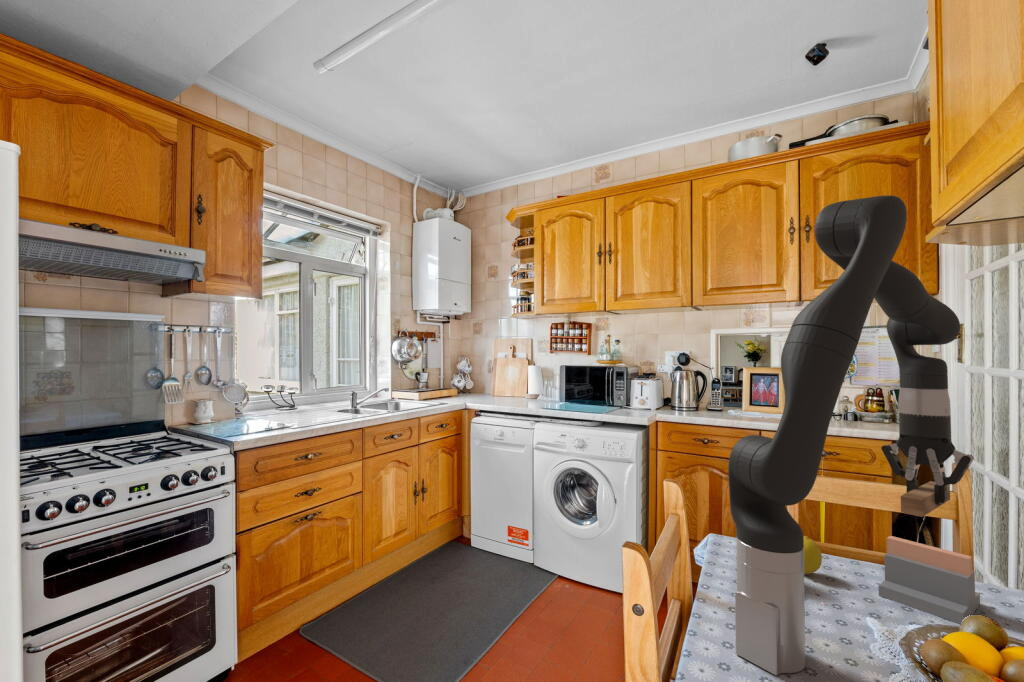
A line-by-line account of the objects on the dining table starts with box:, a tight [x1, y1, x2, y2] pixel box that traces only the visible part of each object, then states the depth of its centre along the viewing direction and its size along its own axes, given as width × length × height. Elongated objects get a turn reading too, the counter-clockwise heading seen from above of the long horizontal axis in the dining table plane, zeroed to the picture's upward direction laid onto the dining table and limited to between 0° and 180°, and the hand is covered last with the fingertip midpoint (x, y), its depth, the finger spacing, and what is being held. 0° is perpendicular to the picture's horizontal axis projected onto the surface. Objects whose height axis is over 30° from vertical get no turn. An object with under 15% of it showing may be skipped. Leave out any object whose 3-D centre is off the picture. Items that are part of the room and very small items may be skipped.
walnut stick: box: [900, 480, 951, 518], centre depth 89 cm, size 18×3×3 cm, turn 125°
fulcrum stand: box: [878, 535, 981, 625], centre depth 89 cm, size 12×12×10 cm
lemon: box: [803, 535, 823, 576], centre depth 99 cm, size 6×6×8 cm
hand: (926, 501), depth 89 cm, fingers closed on walnut stick, 3 cm apart
